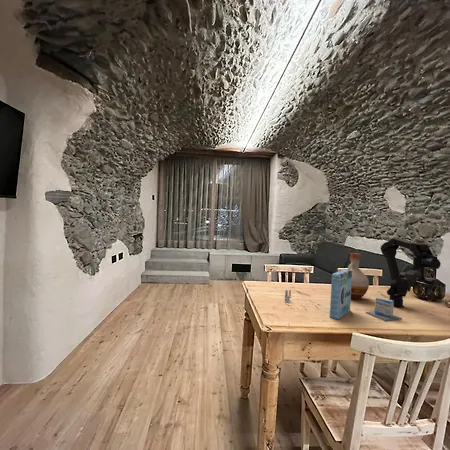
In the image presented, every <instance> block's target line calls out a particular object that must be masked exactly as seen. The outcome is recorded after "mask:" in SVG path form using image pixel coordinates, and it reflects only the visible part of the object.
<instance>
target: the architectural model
mask: <svg viewBox="0 0 450 450" xmlns="http://www.w3.org/2000/svg"><path fill="white" fill-rule="evenodd" d="M291 298H292V290H291V289H287V290H285V293H284V302H285V303H290V302H291V300H290V299H291Z"/></svg>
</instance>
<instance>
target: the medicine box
mask: <svg viewBox="0 0 450 450" xmlns="http://www.w3.org/2000/svg"><path fill="white" fill-rule="evenodd" d="M393 305H394V300H389V298H385V297H384V298H383V297H378V296H377V297H376V298H375V301H374V311H375V314H378V315H382V316H386V317H390V318H391V317H392V316H393V315H394V306H393Z"/></svg>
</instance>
